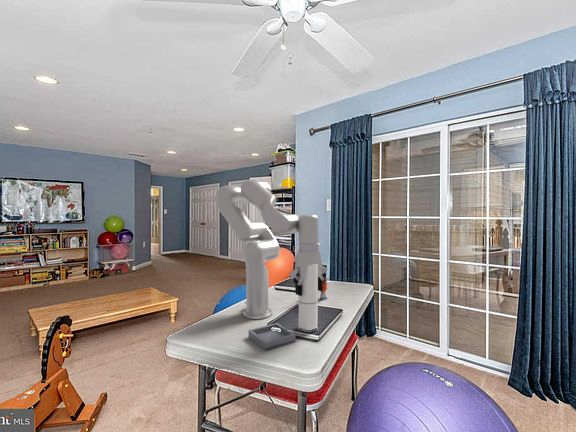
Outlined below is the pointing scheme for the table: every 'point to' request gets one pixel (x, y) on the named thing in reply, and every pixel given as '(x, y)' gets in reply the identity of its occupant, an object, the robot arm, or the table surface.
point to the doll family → (324, 290)
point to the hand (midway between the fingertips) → (309, 292)
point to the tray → (271, 336)
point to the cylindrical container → (309, 299)
